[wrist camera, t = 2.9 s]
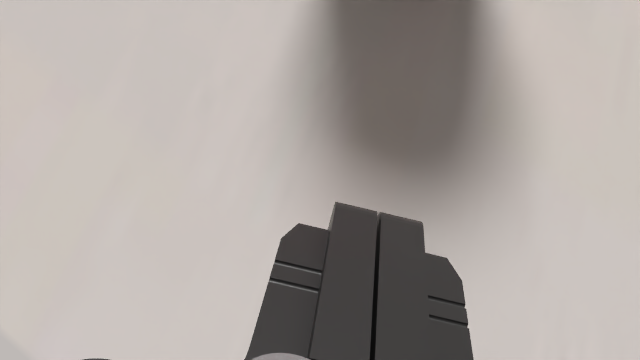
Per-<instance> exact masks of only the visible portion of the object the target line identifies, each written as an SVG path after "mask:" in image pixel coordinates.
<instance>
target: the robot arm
mask: <svg viewBox="0 0 640 360" xmlns="http://www.w3.org/2000/svg"><path fill="white" fill-rule="evenodd" d="M464 307H465V299H464V292H463V285H462V280H461V279H460V277H459V276H458V274H457V273H456V271H455V270H454V268H453V267H452V265H451V264H450V262H449V261H448V259H447V258H445V257H440V256H436V255H432V254H428V253H425V246H424V231H423V223H422V222H420V221H416V220H411V219H407V218H403V217H399V216H394V215H390V214H386V213H382V212H380V213H379V214H378V217H377V211H372V210H368V209H364V208H360V207H355V206H351V205H347V204H343V203H338V202H335V205H334V208H333V212H332V216H331V220H330V223H329V227H328V230H325V229H321V228H317V227H312V226H308V225H304V224H300V223H299V224H297V225H296V226H295V227H294V228H293V229H292V230H290V231H289V232H288V233H287V234H286V235H285V236H284V237H282V238H281V241H280V245H279V248H278V251H277V255H276V258H275V262H274V265H273V268H272V272H271V275H270V279H269V282H268V286H267V289H266V292H265V296H264V299H263V303H262V306H261V310H260V313H259V316H258V320H257V323H256V327H255V330H254V334H253V337H252V340H251V344H250V347H249V351H248V353H247V355H246V358H245V359H244V360H473V353H472V347H471V340H470V333H469V328H467V326H468V319H467V312H466V309H465V308H464ZM84 360H108V359H84Z"/></svg>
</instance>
